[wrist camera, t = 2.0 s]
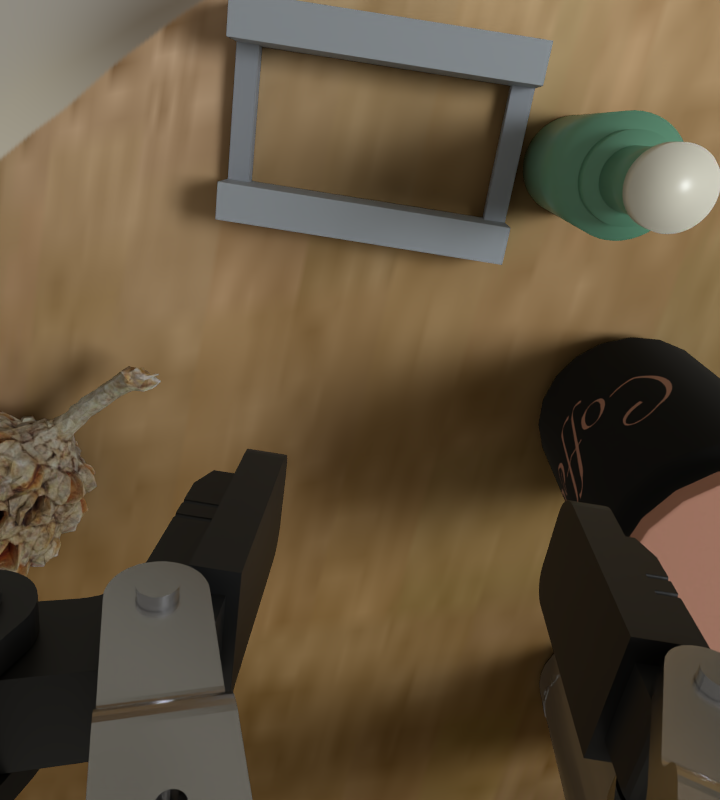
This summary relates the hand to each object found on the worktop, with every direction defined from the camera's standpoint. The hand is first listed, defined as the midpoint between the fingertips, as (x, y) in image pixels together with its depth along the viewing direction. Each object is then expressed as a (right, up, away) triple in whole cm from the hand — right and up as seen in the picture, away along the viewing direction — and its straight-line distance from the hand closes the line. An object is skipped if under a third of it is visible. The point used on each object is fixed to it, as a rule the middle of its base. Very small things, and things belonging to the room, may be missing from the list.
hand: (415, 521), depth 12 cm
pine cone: (-21, 0, +34) cm, 40 cm away
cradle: (0, +17, +25) cm, 30 cm away
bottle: (+11, +15, +25) cm, 31 cm away
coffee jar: (+16, +2, +30) cm, 34 cm away
